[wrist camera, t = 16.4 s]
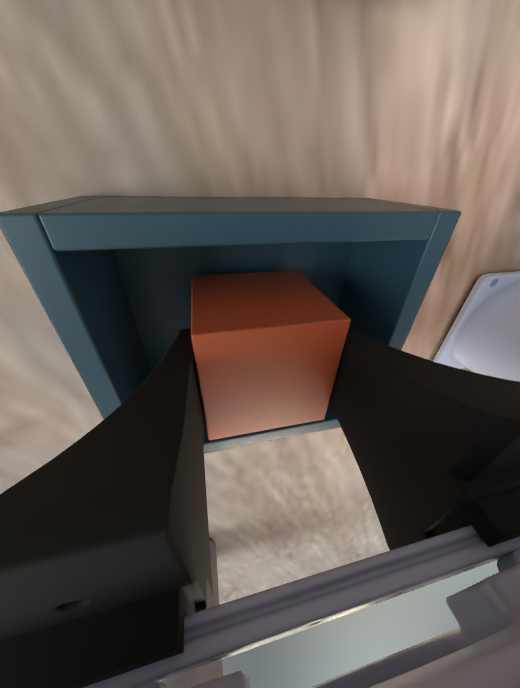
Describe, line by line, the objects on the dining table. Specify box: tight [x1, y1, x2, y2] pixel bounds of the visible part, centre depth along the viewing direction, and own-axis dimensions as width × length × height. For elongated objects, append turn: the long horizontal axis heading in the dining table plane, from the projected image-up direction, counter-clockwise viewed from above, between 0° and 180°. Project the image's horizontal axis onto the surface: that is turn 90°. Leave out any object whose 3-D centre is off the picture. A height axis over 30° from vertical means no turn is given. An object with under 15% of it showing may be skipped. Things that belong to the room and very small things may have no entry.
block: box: [191, 270, 351, 440], centre depth 10 cm, size 5×5×5 cm
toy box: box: [0, 196, 461, 453], centre depth 11 cm, size 12×10×5 cm
